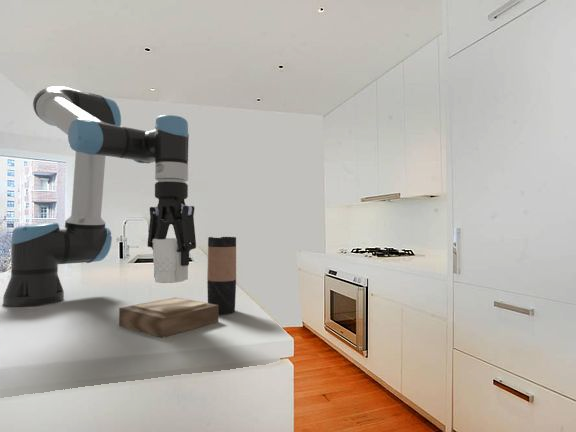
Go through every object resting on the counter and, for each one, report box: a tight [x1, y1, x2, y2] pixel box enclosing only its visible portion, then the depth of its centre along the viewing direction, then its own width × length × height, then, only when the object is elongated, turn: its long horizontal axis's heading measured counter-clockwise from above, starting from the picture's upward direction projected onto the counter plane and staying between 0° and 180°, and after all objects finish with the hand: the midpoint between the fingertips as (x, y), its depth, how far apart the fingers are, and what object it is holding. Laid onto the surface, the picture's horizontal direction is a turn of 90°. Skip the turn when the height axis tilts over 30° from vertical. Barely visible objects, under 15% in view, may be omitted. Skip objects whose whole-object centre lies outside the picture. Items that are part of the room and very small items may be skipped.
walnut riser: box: [118, 297, 220, 338], centre depth 91 cm, size 16×16×4 cm
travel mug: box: [206, 236, 237, 316], centre depth 104 cm, size 8×8×20 cm
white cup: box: [152, 237, 186, 284], centre depth 91 cm, size 8×8×10 cm
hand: (170, 278), depth 91 cm, fingers closed on white cup, 7 cm apart
